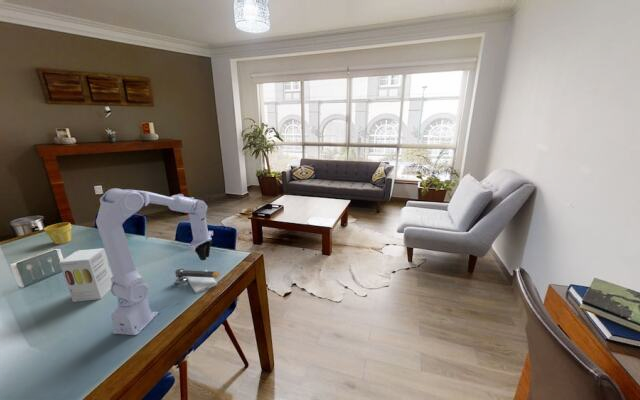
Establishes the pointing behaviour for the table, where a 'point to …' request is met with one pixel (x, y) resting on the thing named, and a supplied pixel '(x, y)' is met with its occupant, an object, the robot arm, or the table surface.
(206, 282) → the hard drive
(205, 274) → the grey bar
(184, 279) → the door knob
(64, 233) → the plant pot
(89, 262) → the supplement box
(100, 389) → the table surface
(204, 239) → the robot arm
